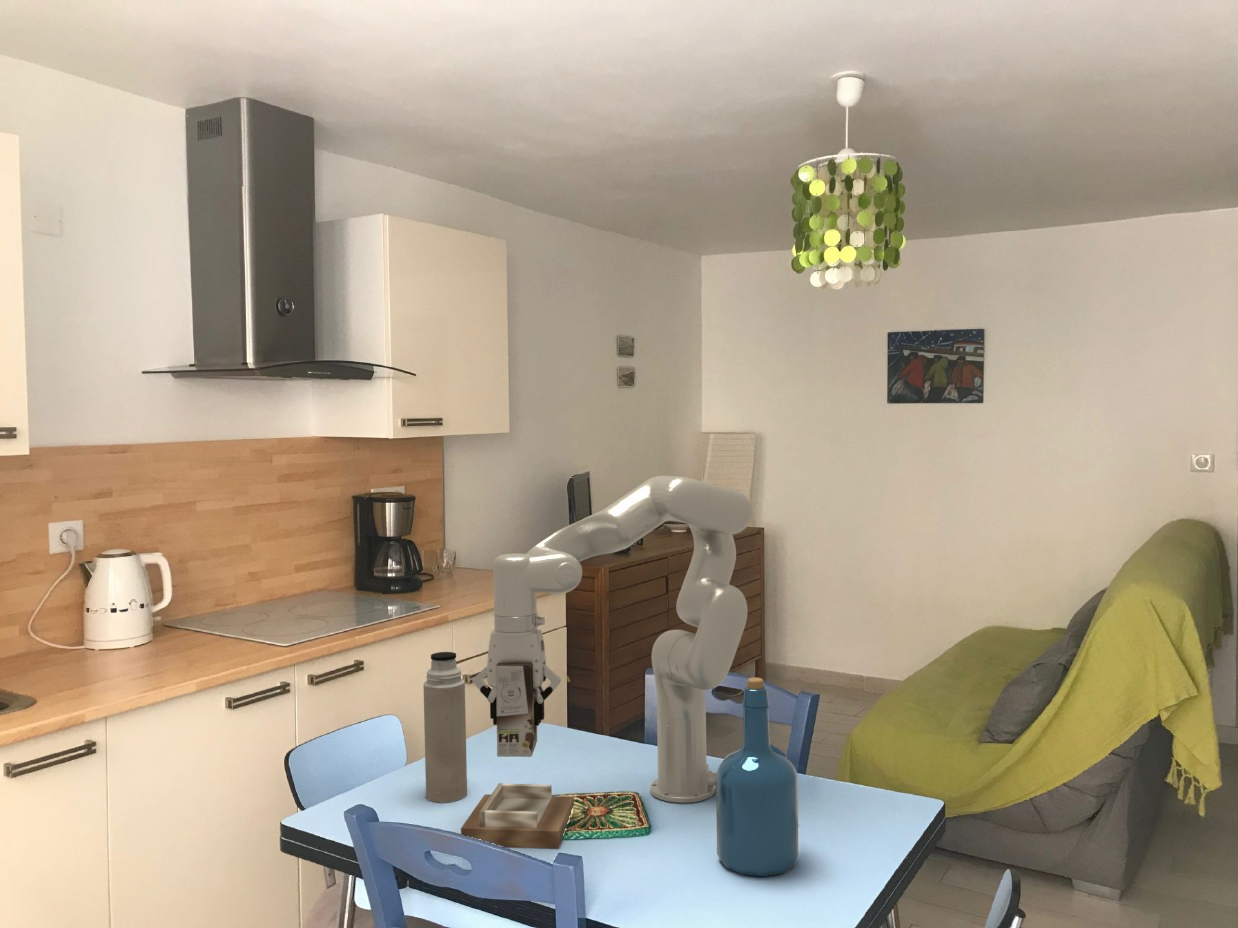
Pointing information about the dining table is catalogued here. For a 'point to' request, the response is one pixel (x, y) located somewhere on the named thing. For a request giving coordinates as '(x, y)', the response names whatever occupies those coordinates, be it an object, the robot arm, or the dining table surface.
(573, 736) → the dining table surface
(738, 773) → the wine bottle
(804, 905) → the dining table surface
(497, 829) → the dock
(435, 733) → the thermos bottle
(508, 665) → the coffee box
